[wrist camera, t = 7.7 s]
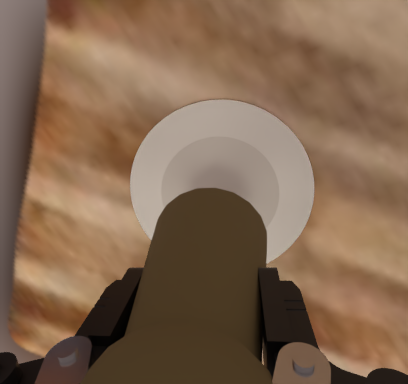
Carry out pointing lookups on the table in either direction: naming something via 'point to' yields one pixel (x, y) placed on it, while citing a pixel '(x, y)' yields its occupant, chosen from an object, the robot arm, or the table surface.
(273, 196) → the cream plate
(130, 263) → the table surface
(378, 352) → the table surface
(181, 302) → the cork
